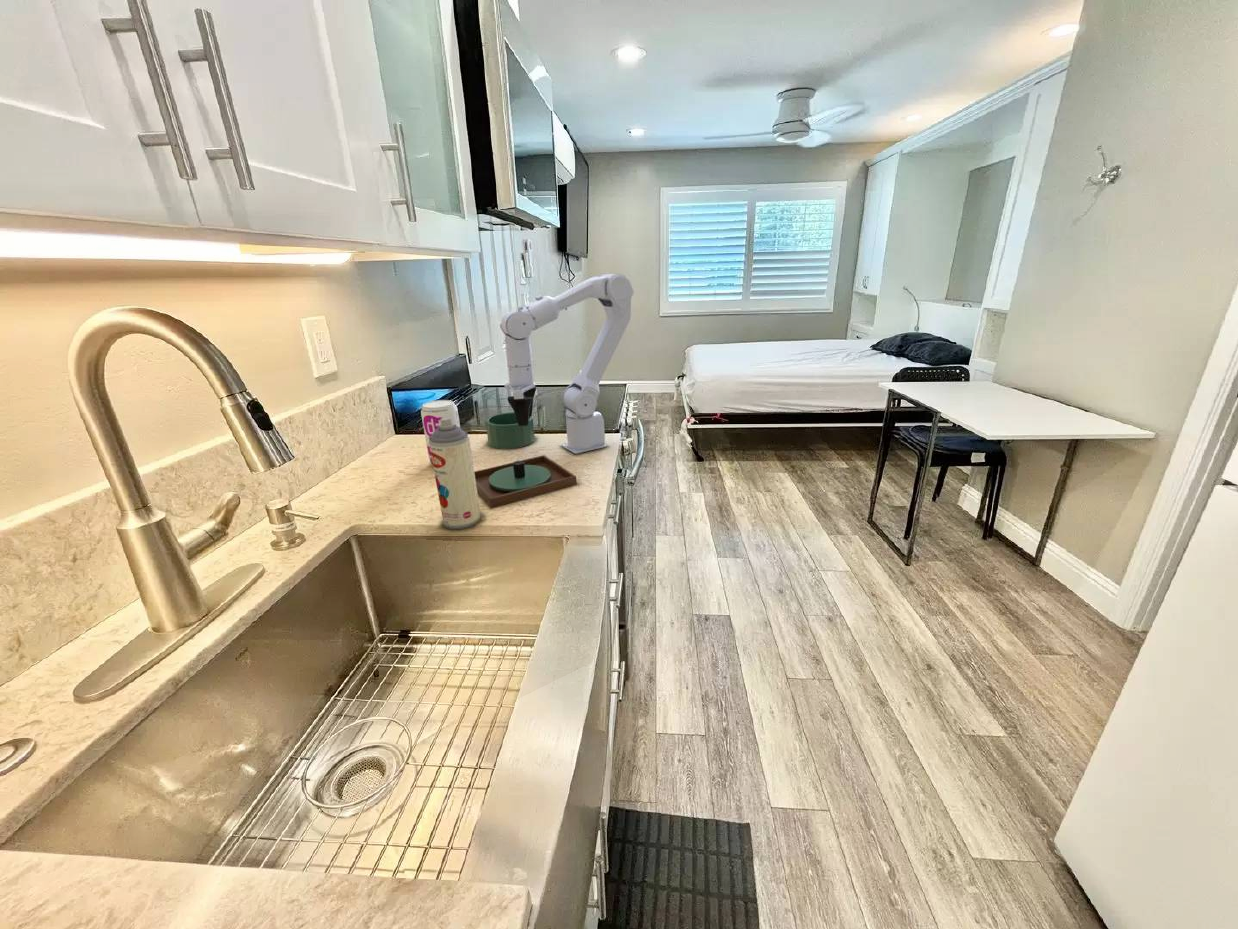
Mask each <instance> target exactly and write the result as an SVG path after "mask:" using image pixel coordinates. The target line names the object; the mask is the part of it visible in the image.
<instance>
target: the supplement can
mask: <svg viewBox="0 0 1238 929" xmlns="http://www.w3.org/2000/svg"><path fill="white" fill-rule="evenodd" d="M458 411H459V410H458V406H457V405H456V403H455V402H454V401H453V400H451V399H450V400H449V399H439V400H438V399H437V400H432V401H428V402H425V403H423V404H422V408H421V410H420V415H421V421H422V427H423V431H424V432H423V433H424V437H425V443H426V449H427V453H428V460H429V464H430V465H431V466H433V463H432V458H431V452H430V447H429V441H430V440H429V437H430V436H431V435H432V434H433V433H434V431H435V430H436V429H438V427H439V426H440V425H441V419H442V418H446V417H449V418H451V421H452V423H454V424H455V425H456V426H457V427H460V428H461V424H460V417H459V412H458Z"/></svg>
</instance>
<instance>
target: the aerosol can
mask: <svg viewBox="0 0 1238 929" xmlns="http://www.w3.org/2000/svg"><path fill="white" fill-rule="evenodd" d="M429 440H430V441H429V447H430V452H431V458H432V463H433V465H432V468H433V474H434V480H435V485H436V490H437V496H438V502H439V507H440V512H441V518H442V521H443V522H442V524H443V526H444V527H445V528H447V529H449V530H465V529H469V528H471V527H474V526H476V525H477V524H479V522H480V521H481V519H482V515H481V507H480V501H479V493H478V492H477V487H476V480H475V473H474V471H475V467H474V461H473V455H472V448H471V439H470V437H469V433H468V431H466V430H463V429H462V428H461V426H460V427H457V426H456V425H455V424H454V423H452V421H451V418H449V417H446V418H442V419H441V425H440V426H439V427H438V429H436V430H435V431H434V433H433V434H432V435H431V436H430V437H429Z"/></svg>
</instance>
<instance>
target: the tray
mask: <svg viewBox="0 0 1238 929" xmlns="http://www.w3.org/2000/svg"><path fill="white" fill-rule="evenodd" d="M520 461H524V465H536V466H541V467H544V468H546V469H548V470H549V471H550V473H551V477H550V480H549V481H548V482H547V483H545V484H541V485H537V486H534V487H530V488H526V489H522V490H519V491H502V490H498V489H495V488H493V487H492V486H491V485H490V484H489V477H490V476H491V475H492V474H493V473H495V472H496V471H498V470H501V469H503V468H507V467H511V466H513V462H509V463H504V464H501V465H496V466H492V467H487V468H483V469H479V470H474V473H475V480H476V487H477V493H478V495H479V496H480V497H481V498H482V499H483V500H484V501H485V502H486V503H487V504H488V506H490V508H496V507H499V506H503V505H506V504H511V503H513V502H518V501H521V500H525V499H528V498H533V497H536V496H540V495H543V494H546V493H550V492H553V491H557V490H562V489H564V488H568V487H572V486H575V485H577V483H578V482H577V476H576V475H575V474H573V473H572V472H571V471H569V470H568V469H566V468H565V467H563V466H562V465H560V464H558V463H557V462H555V461H554V460H552V458H549V457H548V456H546V455H545V454H543V455H538V456H535V457H530V458H525V459H522V460H520Z"/></svg>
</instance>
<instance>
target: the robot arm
mask: <svg viewBox="0 0 1238 929" xmlns="http://www.w3.org/2000/svg"><path fill="white" fill-rule="evenodd" d="M634 293H635V292H634V288H633V286H632V282H631V281H630V279H629V277H628V276H626V275H625V274H623V273H615V274H614V273H600V274H598V275H597V276H593V277H592V276H591V277H590V278H588V279H585V280H583V281H582V282H580V283H578V284H576V285H574V286H572V287H571V288H569V289H567V290H565V291H564V292H562V293H559V294H558V295H557V296H556V295H555V297H551V296H549V295H543V296H542V295H541V294H540V295H537V296H535V300H533V301H530V303H527V304H525V305H521V304H520V305H518V306H517V311H515V310H512V311H511V310H510V311H508V312H506V313H504V315H503V316H502V318H501V320H500V325H499V327H500V329H501V332H502V333H503V334H504V342H505V346H504V347H505V355H506V364H507V374H508V383H505V384H504V388H506V389H509V390H510V391H511V392H512V393H513V395H512V396H508V397H507V402H508V404H509V405H510V407H511V408H512V410H513V412H514V413H515V416H516V419H517V422H518V424H519V426H528V422H529V417H531V416H533V409H534V408H533V407H534V406H533V405H534V398H535V395H536V391H537V389H538V386H536V382H535V379H534V370H533V358H532V346H531V341H530V335H531V334H532V331H536V330H538V329H540V328H542V327H544V326H546V325H548V324H550V323H551V322H554V321H556V320H557V319H558V318H559V316H560V313H561V311H563V310H565V309H568V308H571V307H572V306H574V305H576V304H579V303H581V302H583V301H585V300H588V299H590V298H591V299H597V300H598V301H599V302H600V304H601V305H602V308H603V309H604V312H605V315H606V319H605V321H604V323H603V325H602V328H601V330H600V331H599V333H598V336H597V338H596V340H595V342H594V343H593V346H592V348H591V350H590V352H589V354H588V356H587V359H586V361H585V363H584V364H583V367H582V368H581V371H580V372H579V374H578V375H577V376H576V377H574V378H573V379H572V381H571V383H570V384H569V385H568V386H567V387H566V388H565V389H564V390H563V391H562V393H561V402H562V404H563V406H564V407H565V409H566V410H565V424H566V425H565V426H566V440H567V441H566V443H565V442H564V443H561V447H562V448H564V449H566V450H568V451H570V452H571V453H572V454H575V455H577V454H582V453H586V452H590V451H594V450H598V449H603V448H606V447H607V444H606V433H605V420H604V417H603V415H602V413H600V411H596V410H597V406H598V399H599V396H600V393H601V392H600V382H601V380H602V378H603V376H604V374H605V372H606V370H607V368H608V366H609V364H610V362H611V360H612V357H613V355H614V354H615V352H616V349H617V348H618V346H619V344H620V342H621V340H622V337H623V335H624V333H625V332H626V329H627V327H628V325H629V323H630V320H631V316H632V315H631V314H632V298H633V296H634Z"/></svg>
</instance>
